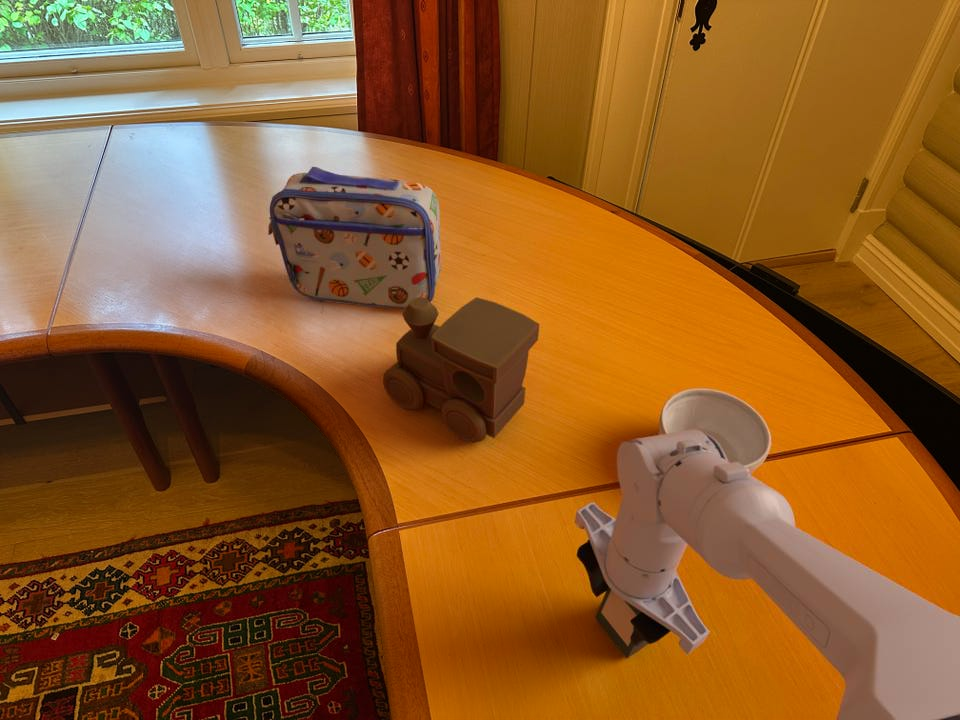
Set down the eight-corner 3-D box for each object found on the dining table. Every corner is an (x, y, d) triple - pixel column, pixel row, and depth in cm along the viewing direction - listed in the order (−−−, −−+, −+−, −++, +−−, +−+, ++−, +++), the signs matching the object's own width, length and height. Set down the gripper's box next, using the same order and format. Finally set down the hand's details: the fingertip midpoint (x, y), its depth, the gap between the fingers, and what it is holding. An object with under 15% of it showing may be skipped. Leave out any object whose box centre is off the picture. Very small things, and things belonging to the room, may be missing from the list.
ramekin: (766, 450, 81) (784, 415, 76) (736, 522, 73) (754, 488, 68) (671, 408, 86) (683, 373, 81) (633, 471, 78) (643, 436, 73)
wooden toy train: (536, 409, 86) (544, 318, 75) (491, 462, 79) (493, 371, 68) (426, 354, 94) (418, 265, 83) (376, 398, 87) (361, 308, 76)
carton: (640, 555, 60) (613, 571, 58) (677, 596, 57) (650, 615, 55) (618, 602, 66) (593, 617, 64) (651, 641, 62) (626, 659, 61)
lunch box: (278, 304, 104) (244, 185, 88) (300, 270, 111) (272, 155, 96) (436, 319, 101) (428, 199, 85) (447, 283, 108) (442, 166, 93)
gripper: (752, 586, 47) (707, 655, 56) (624, 458, 55) (603, 536, 65) (687, 636, 44) (651, 700, 53) (563, 493, 53) (550, 569, 62)
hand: (621, 613), depth 59 cm, fingers closed on carton, 5 cm apart
